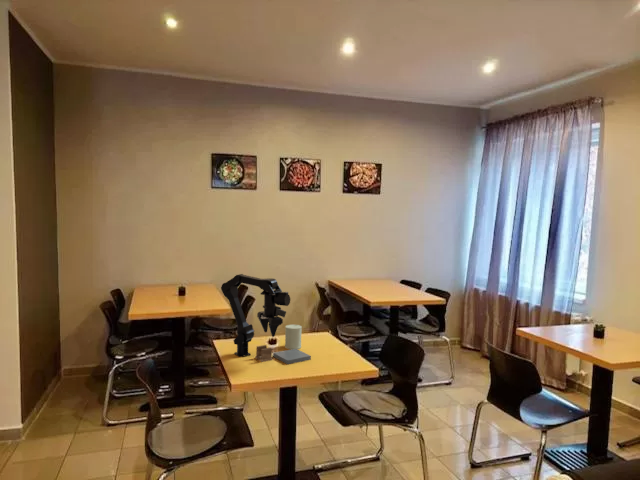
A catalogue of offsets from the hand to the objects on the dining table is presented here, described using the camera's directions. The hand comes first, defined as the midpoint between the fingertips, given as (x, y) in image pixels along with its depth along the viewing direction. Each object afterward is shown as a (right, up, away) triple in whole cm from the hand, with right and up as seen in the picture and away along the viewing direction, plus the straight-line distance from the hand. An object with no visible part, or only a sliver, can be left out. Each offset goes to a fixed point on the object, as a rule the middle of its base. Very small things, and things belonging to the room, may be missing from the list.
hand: (269, 334), depth 229 cm
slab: (+11, -13, +4) cm, 18 cm away
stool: (-3, -13, +1) cm, 13 cm away
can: (+11, -12, +24) cm, 29 cm away
